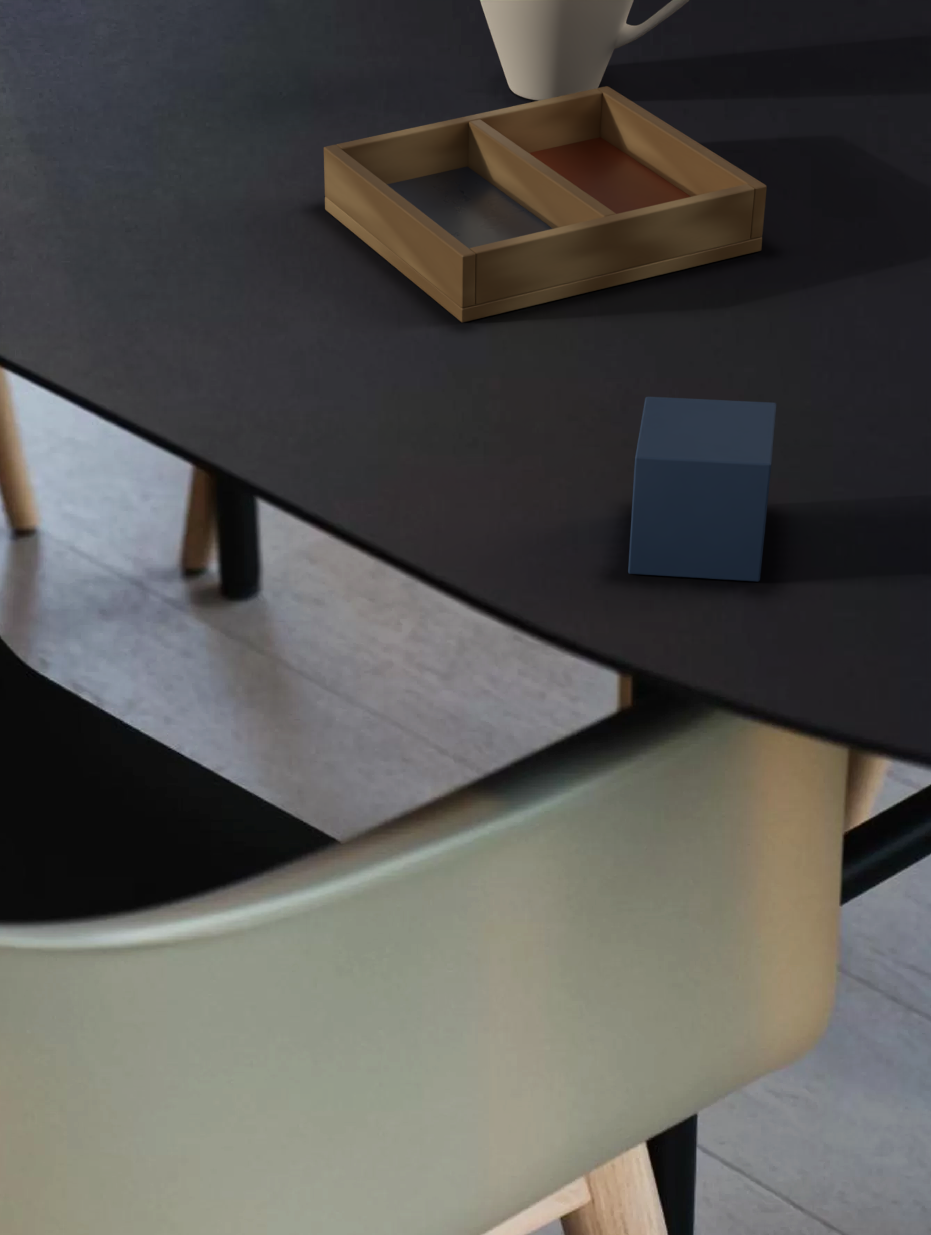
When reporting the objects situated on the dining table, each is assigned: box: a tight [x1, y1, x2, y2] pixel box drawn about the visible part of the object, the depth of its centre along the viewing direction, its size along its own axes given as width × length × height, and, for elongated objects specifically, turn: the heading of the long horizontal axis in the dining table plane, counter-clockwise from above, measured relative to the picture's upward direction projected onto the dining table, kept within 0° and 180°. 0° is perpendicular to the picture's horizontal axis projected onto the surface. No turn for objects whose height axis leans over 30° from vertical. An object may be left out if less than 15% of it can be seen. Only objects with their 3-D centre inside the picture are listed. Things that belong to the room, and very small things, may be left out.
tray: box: [323, 85, 768, 323], centre depth 106 cm, size 14×13×3 cm
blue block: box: [627, 396, 777, 583], centre depth 85 cm, size 4×4×4 cm
